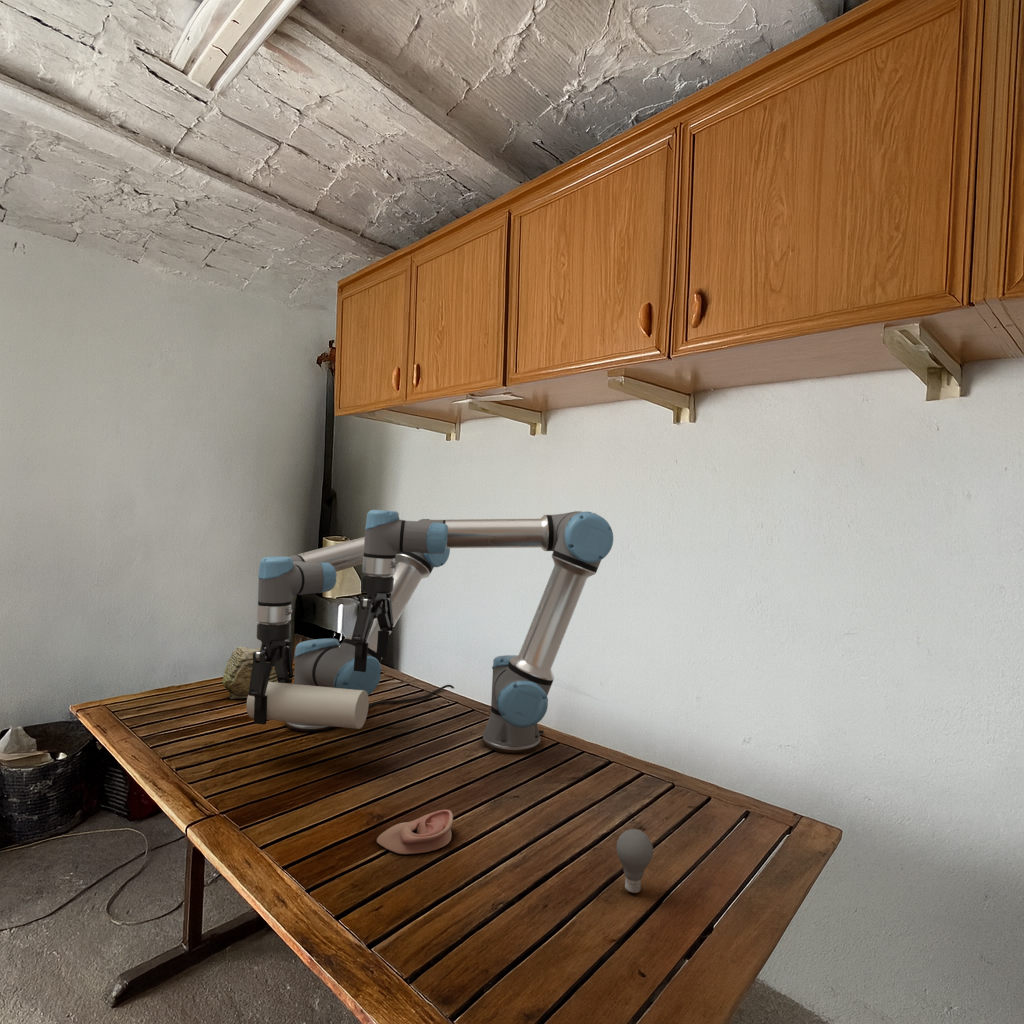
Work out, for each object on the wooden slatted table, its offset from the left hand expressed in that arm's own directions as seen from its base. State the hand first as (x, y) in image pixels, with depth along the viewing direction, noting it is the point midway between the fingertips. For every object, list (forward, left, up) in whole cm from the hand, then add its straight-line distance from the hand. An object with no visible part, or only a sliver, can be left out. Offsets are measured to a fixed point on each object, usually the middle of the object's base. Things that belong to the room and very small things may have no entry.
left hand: (270, 716), depth 150 cm
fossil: (-23, -47, -10) cm, 54 cm away
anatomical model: (0, +51, -10) cm, 52 cm away
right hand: (-15, +18, +14) cm, 27 cm away
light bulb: (-14, +89, -10) cm, 91 cm away
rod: (-5, +8, 0) cm, 9 cm away
